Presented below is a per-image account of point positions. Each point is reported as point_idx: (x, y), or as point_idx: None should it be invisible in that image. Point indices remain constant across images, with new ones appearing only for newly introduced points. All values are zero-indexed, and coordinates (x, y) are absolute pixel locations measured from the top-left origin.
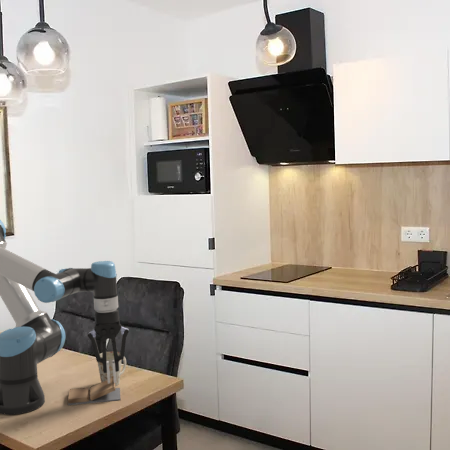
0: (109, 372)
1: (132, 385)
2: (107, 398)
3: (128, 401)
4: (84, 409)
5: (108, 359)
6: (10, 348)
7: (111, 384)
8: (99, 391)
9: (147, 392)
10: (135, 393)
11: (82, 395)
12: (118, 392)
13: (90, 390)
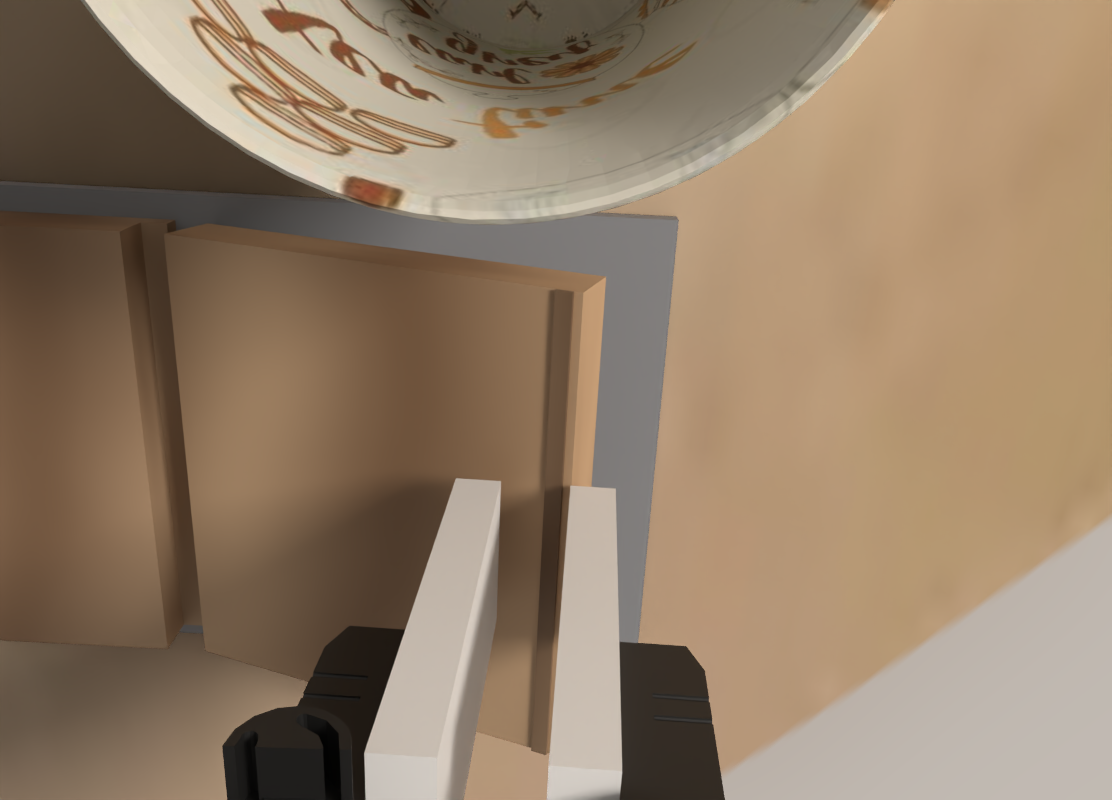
0: (473, 711)
1: (909, 110)
2: None
3: (730, 704)
4: (187, 772)
5: (440, 218)
6: None
7: (519, 602)
8: (329, 625)
9: (1052, 490)
10: (876, 475)
11: (83, 556)
12: (632, 421)
13: (180, 394)
